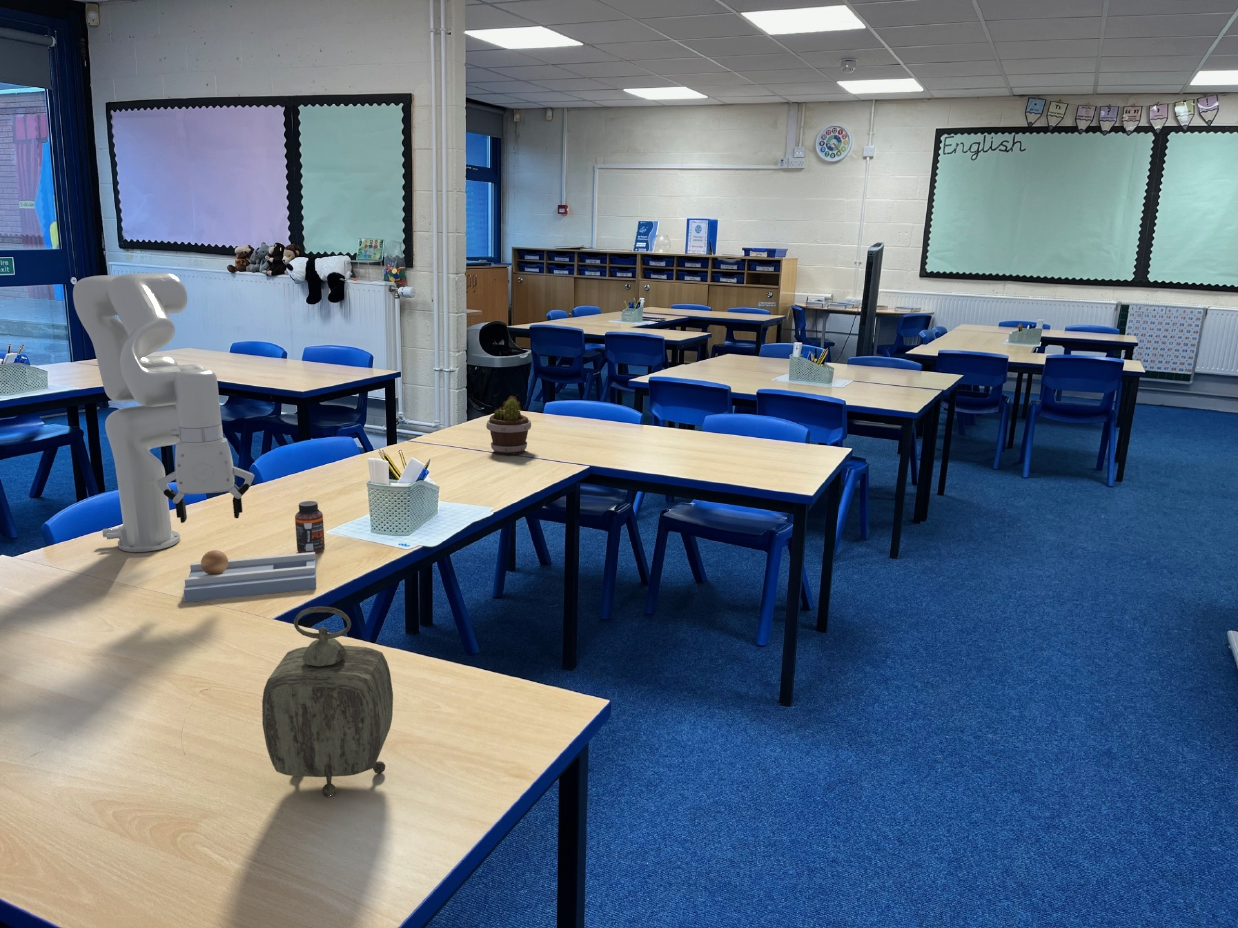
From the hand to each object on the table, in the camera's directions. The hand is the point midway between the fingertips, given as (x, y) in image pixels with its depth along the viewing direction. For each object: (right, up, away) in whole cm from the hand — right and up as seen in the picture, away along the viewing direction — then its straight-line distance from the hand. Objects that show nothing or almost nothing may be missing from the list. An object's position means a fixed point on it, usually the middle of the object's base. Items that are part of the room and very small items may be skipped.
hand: (210, 518), depth 173 cm
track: (+6, -13, +6) cm, 16 cm away
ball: (0, -9, +3) cm, 9 cm away
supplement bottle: (+11, -9, +24) cm, 28 cm away
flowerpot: (+44, +15, +118) cm, 127 cm away
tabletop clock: (+44, -31, -59) cm, 80 cm away
